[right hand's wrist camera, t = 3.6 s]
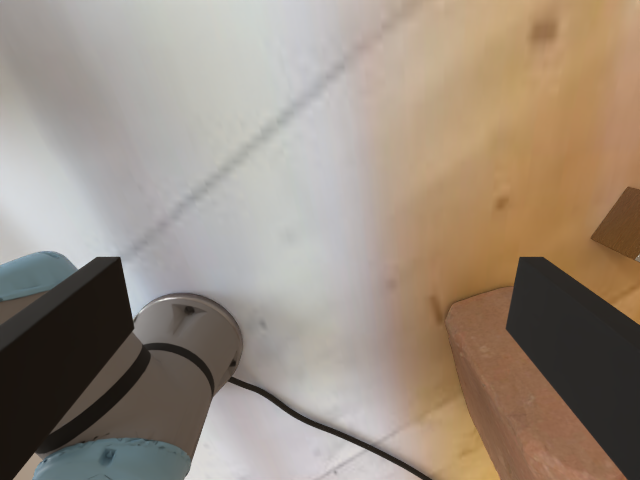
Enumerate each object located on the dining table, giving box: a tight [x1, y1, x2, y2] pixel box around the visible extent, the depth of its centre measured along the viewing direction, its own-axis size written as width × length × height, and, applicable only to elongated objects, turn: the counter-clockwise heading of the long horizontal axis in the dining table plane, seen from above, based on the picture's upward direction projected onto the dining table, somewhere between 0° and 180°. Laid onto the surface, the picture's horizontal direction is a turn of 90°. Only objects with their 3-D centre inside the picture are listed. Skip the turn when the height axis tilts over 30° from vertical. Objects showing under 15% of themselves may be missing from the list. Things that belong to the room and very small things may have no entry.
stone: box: [445, 286, 627, 480], centre depth 41 cm, size 22×11×28 cm, turn 19°
